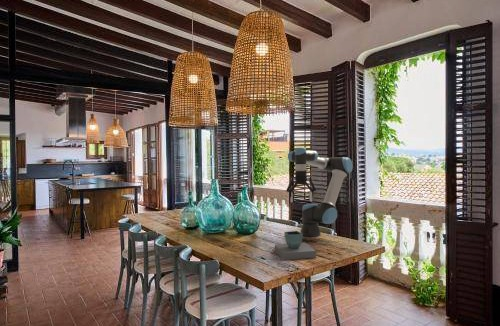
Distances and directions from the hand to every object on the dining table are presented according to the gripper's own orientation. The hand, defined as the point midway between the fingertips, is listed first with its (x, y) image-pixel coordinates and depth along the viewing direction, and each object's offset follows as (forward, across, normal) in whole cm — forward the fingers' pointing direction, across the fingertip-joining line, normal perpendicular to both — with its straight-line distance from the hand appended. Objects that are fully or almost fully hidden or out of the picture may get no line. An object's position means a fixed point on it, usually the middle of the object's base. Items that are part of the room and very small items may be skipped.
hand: (301, 201), depth 230 cm
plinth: (+29, -12, -22) cm, 38 cm away
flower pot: (+25, -13, -22) cm, 35 cm away
